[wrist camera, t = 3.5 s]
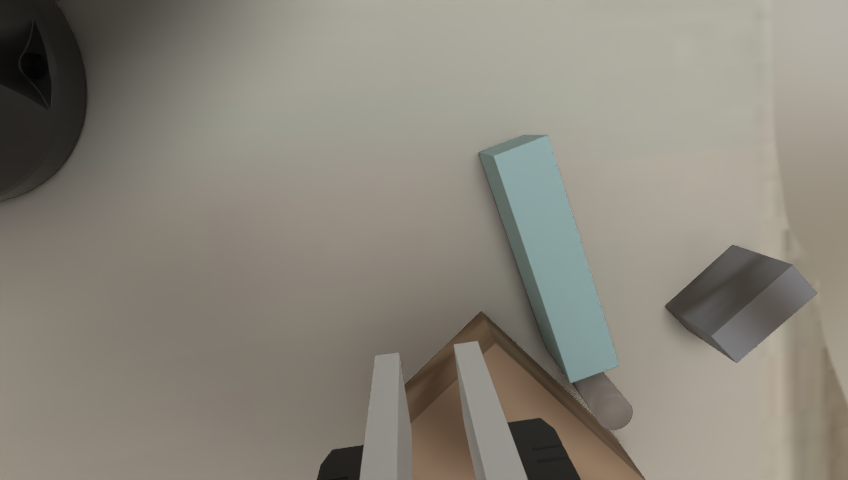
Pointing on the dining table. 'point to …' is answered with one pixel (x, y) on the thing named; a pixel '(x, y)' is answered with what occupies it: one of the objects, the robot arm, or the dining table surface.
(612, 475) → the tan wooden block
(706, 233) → the dining table surface
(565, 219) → the teal block
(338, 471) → the robot arm
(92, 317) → the dining table surface
